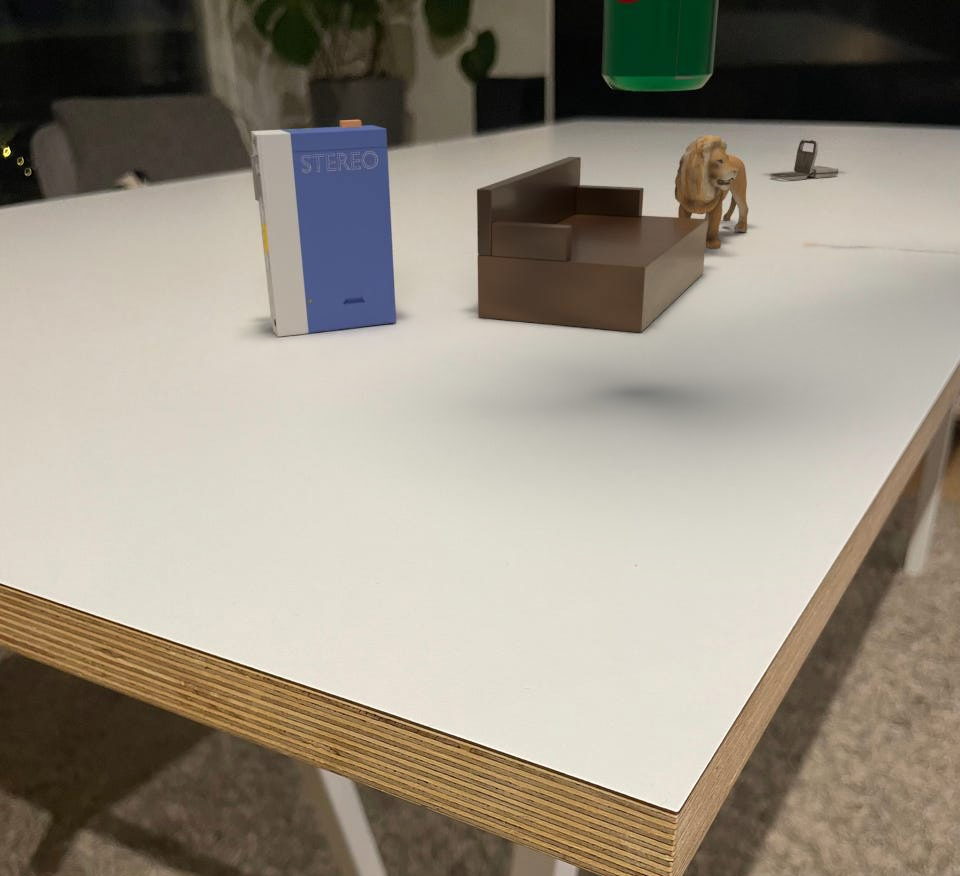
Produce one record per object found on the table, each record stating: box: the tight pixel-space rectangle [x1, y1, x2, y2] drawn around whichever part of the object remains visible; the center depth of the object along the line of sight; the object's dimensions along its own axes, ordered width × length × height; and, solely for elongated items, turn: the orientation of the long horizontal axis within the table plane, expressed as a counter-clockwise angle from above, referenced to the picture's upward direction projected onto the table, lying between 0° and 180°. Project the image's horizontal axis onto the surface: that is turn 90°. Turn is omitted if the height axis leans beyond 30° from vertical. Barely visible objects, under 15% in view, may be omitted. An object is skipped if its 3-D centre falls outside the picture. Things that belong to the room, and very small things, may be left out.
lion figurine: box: [674, 134, 749, 249], centre depth 89 cm, size 15×5×9 cm, turn 159°
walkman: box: [250, 119, 397, 338], centre depth 64 cm, size 8×3×12 cm, turn 112°
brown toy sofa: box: [476, 156, 708, 334], centre depth 72 cm, size 11×18×8 cm, turn 157°
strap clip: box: [769, 138, 839, 181], centre depth 124 cm, size 8×3×4 cm, turn 115°
